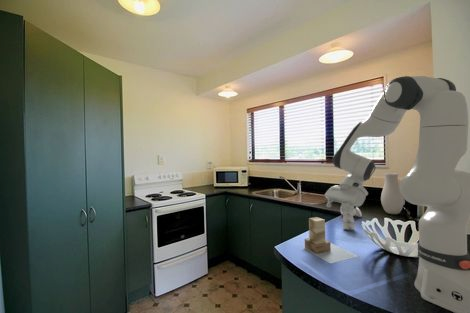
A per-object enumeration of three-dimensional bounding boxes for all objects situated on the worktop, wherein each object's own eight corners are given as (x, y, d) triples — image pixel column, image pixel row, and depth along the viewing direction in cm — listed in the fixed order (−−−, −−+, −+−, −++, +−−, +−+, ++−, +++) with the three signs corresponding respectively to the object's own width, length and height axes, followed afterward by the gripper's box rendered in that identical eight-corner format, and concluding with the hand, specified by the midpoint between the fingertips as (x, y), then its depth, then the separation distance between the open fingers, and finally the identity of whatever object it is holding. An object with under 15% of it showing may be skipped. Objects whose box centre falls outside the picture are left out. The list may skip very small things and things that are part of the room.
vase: (376, 212, 166) (375, 173, 166) (390, 210, 170) (389, 172, 170) (394, 216, 153) (393, 174, 153) (408, 214, 157) (407, 173, 157)
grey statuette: (356, 231, 125) (355, 197, 125) (344, 231, 126) (343, 197, 127) (352, 228, 131) (351, 195, 132) (341, 227, 133) (339, 195, 133)
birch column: (325, 241, 100) (324, 219, 100) (316, 243, 98) (316, 221, 98) (317, 237, 104) (317, 217, 104) (309, 239, 103) (308, 218, 103)
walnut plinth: (330, 250, 99) (330, 241, 99) (316, 254, 96) (316, 244, 96) (318, 244, 106) (318, 236, 106) (304, 247, 104) (304, 238, 104)
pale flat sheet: (359, 258, 93) (359, 256, 93) (330, 266, 87) (330, 263, 87) (328, 243, 110) (327, 241, 110) (301, 248, 104) (301, 246, 104)
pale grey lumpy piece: (338, 215, 160) (338, 199, 160) (349, 213, 165) (348, 198, 165) (353, 219, 149) (353, 202, 149) (364, 217, 154) (363, 201, 154)
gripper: (330, 181, 118) (316, 200, 114) (364, 185, 99) (348, 208, 95) (336, 188, 119) (323, 208, 116) (371, 194, 100) (356, 217, 97)
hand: (335, 208), depth 105 cm, fingers open, 8 cm apart
